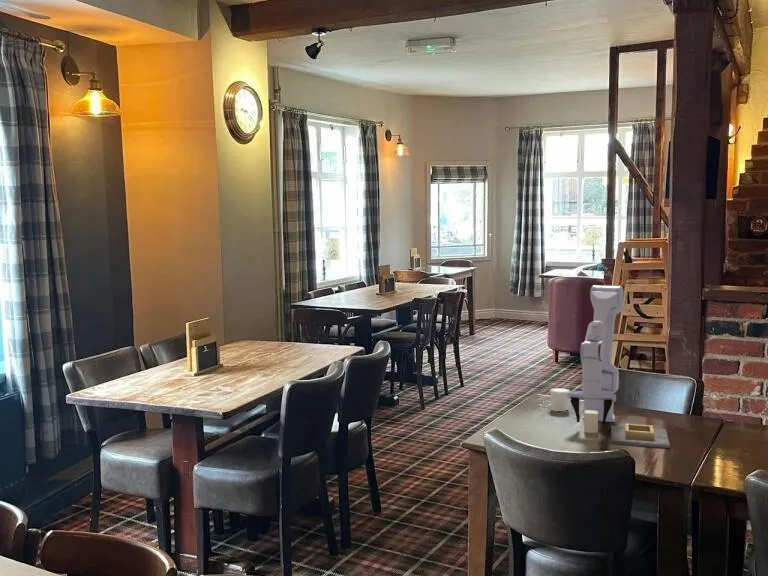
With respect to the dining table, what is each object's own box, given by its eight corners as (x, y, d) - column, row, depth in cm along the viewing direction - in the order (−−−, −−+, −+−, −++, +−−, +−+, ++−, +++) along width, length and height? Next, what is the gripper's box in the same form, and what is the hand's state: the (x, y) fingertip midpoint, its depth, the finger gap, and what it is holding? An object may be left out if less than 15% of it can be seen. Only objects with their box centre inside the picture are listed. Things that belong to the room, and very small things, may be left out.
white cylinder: (571, 408, 252) (572, 388, 251) (568, 413, 246) (568, 392, 245) (552, 406, 255) (552, 386, 254) (547, 411, 248) (548, 391, 248)
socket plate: (611, 443, 212) (611, 433, 211) (611, 428, 227) (611, 419, 227) (669, 448, 207) (669, 438, 207) (665, 432, 222) (665, 422, 222)
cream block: (584, 432, 224) (584, 413, 223) (584, 428, 227) (584, 409, 227) (597, 433, 222) (597, 414, 222) (597, 429, 226) (598, 410, 226)
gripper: (566, 380, 222) (566, 424, 223) (616, 383, 217) (615, 427, 219) (568, 376, 228) (567, 418, 230) (616, 378, 224) (615, 421, 225)
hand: (591, 422), depth 225 cm, fingers open, 7 cm apart
